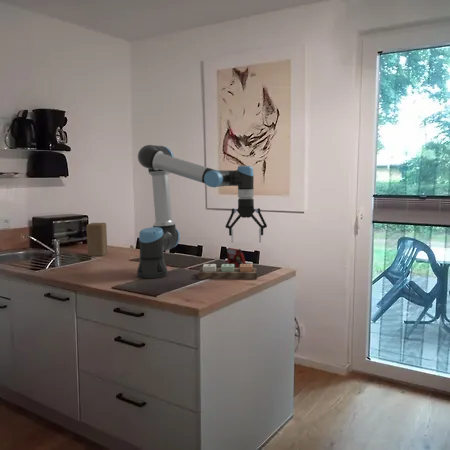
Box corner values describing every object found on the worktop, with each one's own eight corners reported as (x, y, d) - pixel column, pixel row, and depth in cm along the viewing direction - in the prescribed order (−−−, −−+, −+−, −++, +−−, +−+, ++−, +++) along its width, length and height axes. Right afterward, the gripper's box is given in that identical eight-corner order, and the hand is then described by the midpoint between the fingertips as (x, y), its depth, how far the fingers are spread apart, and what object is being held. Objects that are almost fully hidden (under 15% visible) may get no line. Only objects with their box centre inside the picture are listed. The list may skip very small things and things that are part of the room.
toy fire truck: (239, 270, 233) (239, 250, 232) (223, 267, 242) (223, 248, 241) (248, 268, 237) (248, 249, 236) (232, 265, 247) (232, 246, 245)
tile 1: (202, 273, 218) (202, 266, 217) (204, 270, 224) (204, 263, 223) (215, 273, 217) (215, 266, 217) (216, 270, 223) (216, 263, 223)
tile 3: (239, 273, 216) (239, 266, 216) (240, 270, 222) (240, 263, 222) (252, 273, 216) (252, 266, 216) (252, 270, 222) (252, 263, 222)
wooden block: (103, 256, 279) (102, 224, 276) (87, 256, 279) (85, 224, 276) (107, 253, 289) (106, 222, 286) (92, 253, 289) (90, 222, 286)
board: (198, 279, 215) (197, 272, 215) (201, 273, 227) (200, 267, 227) (256, 279, 213) (256, 273, 213) (256, 273, 225) (256, 267, 225)
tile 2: (221, 273, 217) (221, 266, 217) (222, 270, 223) (222, 263, 223) (233, 273, 217) (233, 266, 216) (234, 270, 223) (234, 263, 222)
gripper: (219, 199, 213) (220, 243, 215) (272, 198, 211) (272, 243, 214) (220, 198, 220) (221, 241, 223) (271, 197, 219) (271, 240, 221)
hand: (246, 242), depth 218 cm, fingers open, 13 cm apart
